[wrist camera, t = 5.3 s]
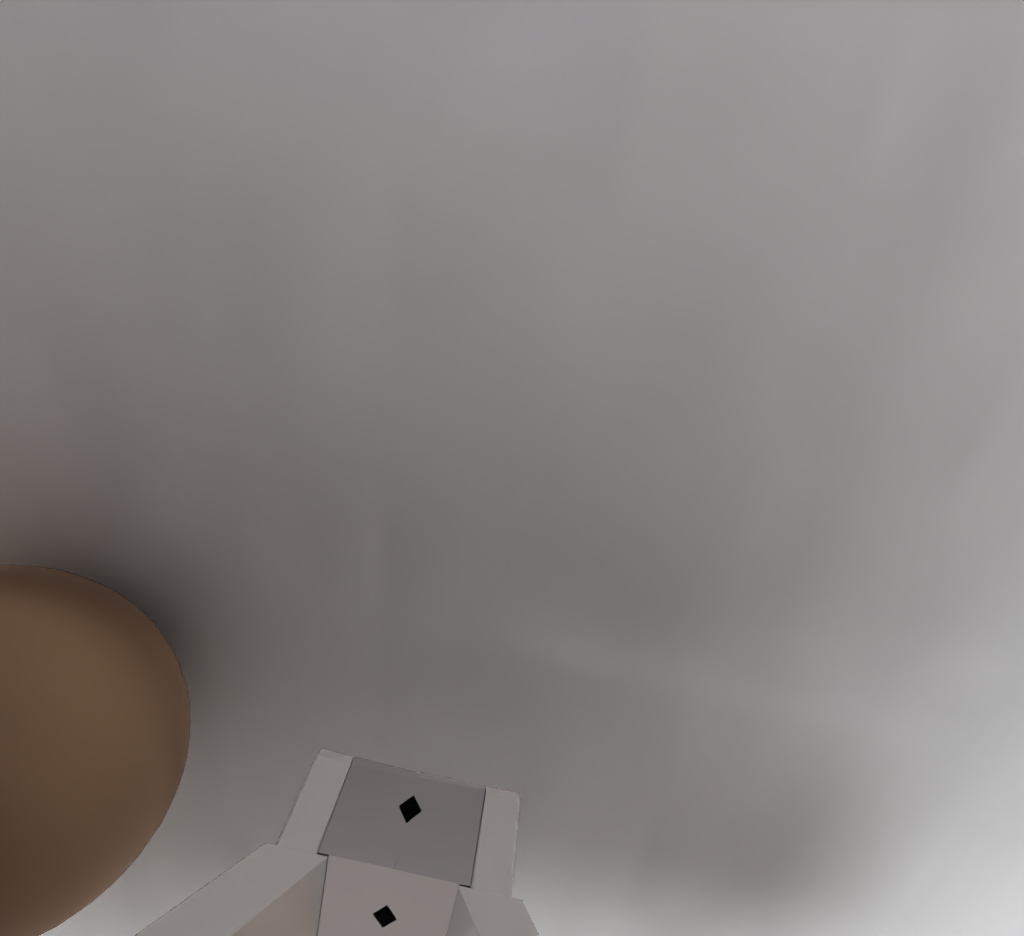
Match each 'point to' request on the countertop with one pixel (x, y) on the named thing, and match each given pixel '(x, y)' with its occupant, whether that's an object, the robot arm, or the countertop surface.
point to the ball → (79, 742)
